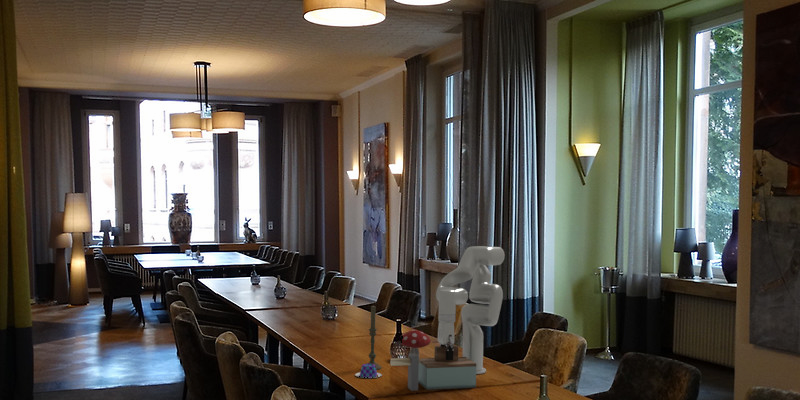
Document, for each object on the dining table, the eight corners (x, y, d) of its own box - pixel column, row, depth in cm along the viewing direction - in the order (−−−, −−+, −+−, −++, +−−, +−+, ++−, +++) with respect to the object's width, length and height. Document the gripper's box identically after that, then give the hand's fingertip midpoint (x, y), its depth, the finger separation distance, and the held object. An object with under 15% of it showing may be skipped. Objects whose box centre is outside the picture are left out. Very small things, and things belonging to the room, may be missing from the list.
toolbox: (402, 382, 323) (402, 349, 323) (465, 379, 330) (465, 347, 331) (411, 390, 309) (411, 356, 309) (476, 387, 316) (477, 354, 316)
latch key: (390, 364, 311) (390, 358, 311) (417, 363, 314) (417, 357, 314) (391, 365, 308) (391, 359, 308) (419, 364, 311) (419, 358, 311)
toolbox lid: (418, 363, 325) (418, 344, 325) (465, 361, 331) (465, 343, 331) (427, 370, 312) (427, 351, 312) (476, 368, 317) (476, 349, 317)
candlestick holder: (381, 366, 355) (382, 303, 355) (381, 370, 346) (383, 306, 346) (362, 365, 355) (363, 303, 355) (362, 370, 346) (363, 306, 346)
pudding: (371, 380, 326) (371, 368, 326) (349, 376, 333) (350, 365, 333) (386, 375, 336) (387, 364, 336) (365, 372, 343) (365, 360, 343)
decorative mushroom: (436, 360, 371) (437, 330, 371) (413, 364, 360) (413, 333, 360) (415, 355, 383) (415, 326, 383) (392, 358, 372) (392, 329, 372)
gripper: (432, 315, 330) (432, 354, 329) (444, 321, 313) (444, 362, 313) (448, 314, 331) (448, 353, 331) (461, 320, 315) (460, 361, 314)
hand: (446, 357), depth 322 cm, fingers open, 8 cm apart
